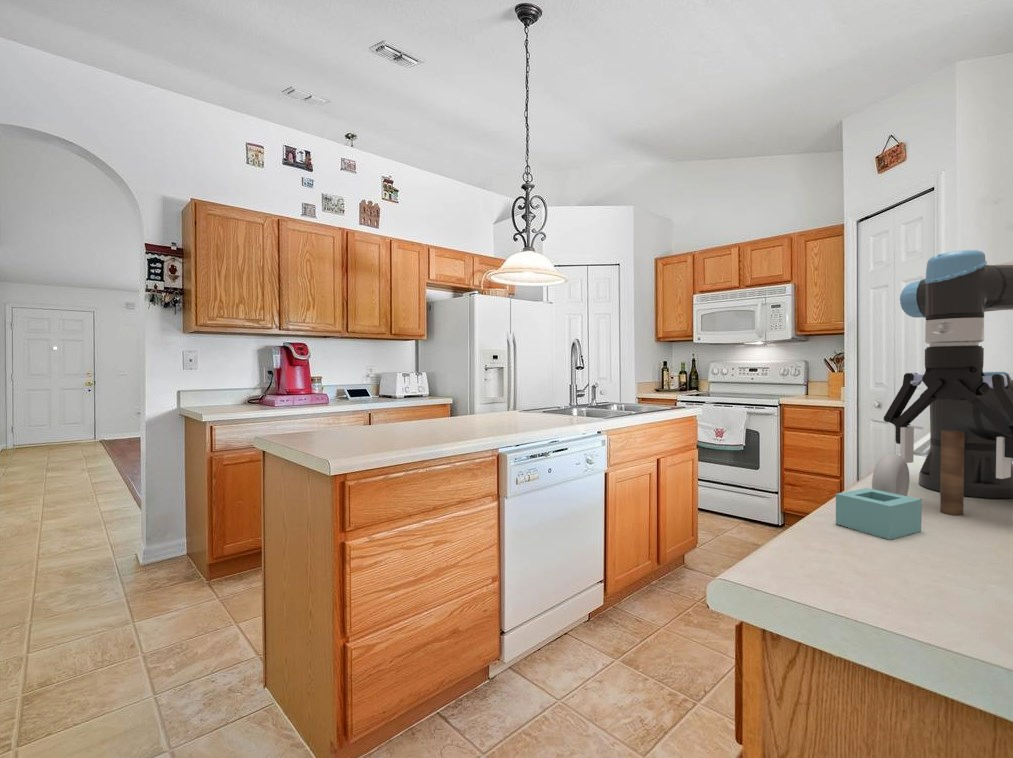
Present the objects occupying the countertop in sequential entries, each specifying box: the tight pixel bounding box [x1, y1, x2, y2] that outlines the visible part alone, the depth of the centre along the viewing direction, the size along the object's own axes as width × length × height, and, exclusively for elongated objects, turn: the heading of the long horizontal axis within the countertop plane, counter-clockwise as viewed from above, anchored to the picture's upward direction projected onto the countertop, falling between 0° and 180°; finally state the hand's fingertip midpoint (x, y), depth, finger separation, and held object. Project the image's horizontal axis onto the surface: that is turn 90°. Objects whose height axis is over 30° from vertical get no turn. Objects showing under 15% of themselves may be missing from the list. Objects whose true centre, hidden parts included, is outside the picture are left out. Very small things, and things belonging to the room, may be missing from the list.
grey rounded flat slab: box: [871, 453, 910, 496], centre depth 90 cm, size 10×3×10 cm, turn 126°
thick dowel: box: [939, 430, 964, 516], centre depth 87 cm, size 3×3×14 cm
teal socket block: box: [835, 487, 923, 541], centre depth 81 cm, size 8×8×5 cm
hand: (951, 469), depth 87 cm, fingers open, 13 cm apart
